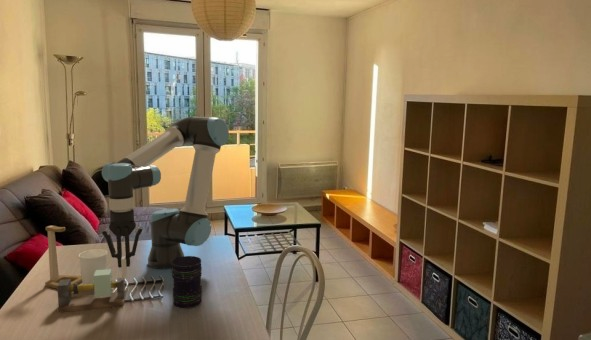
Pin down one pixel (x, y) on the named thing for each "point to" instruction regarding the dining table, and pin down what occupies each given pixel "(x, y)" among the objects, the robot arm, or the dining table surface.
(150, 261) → the robot arm
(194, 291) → the storage jar
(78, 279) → the headphone stand
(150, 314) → the dining table surface
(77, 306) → the rail
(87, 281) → the candle holder
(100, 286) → the sleeve
